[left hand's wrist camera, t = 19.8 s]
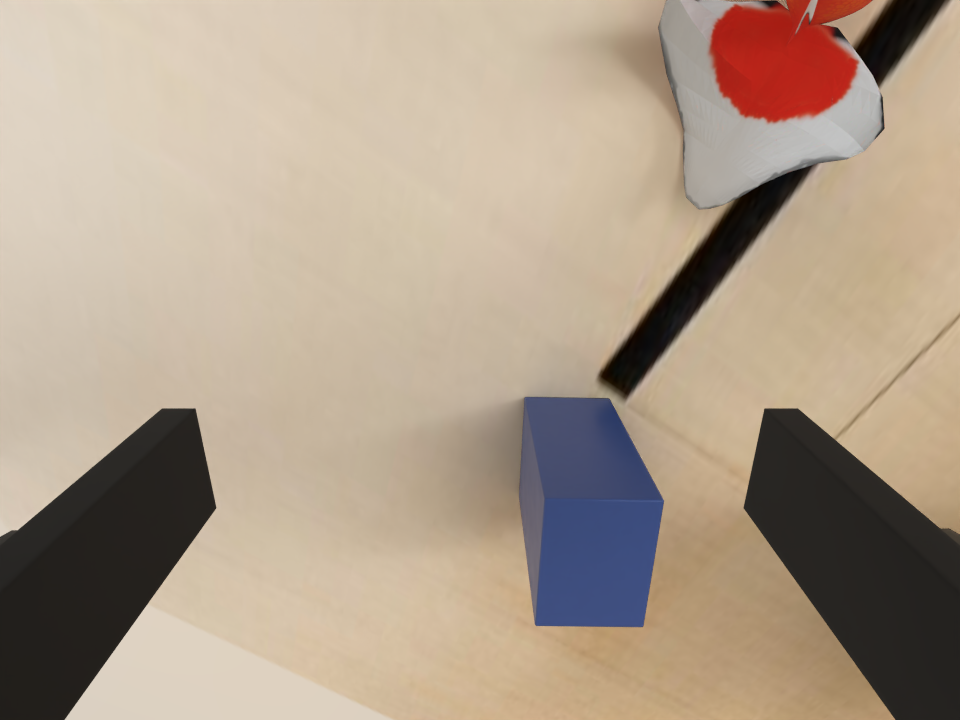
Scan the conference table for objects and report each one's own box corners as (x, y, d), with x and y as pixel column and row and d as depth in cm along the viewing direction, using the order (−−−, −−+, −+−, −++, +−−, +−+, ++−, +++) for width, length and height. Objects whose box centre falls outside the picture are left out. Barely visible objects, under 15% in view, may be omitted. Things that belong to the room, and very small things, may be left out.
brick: (518, 496, 37) (534, 626, 27) (524, 396, 34) (544, 498, 24) (598, 497, 37) (643, 627, 27) (609, 397, 34) (664, 500, 24)
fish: (1086, -34, 22) (1203, -86, 15) (750, 228, 33) (717, 277, 25) (900, -220, 23) (922, -362, 15) (627, 95, 33) (559, 104, 26)
